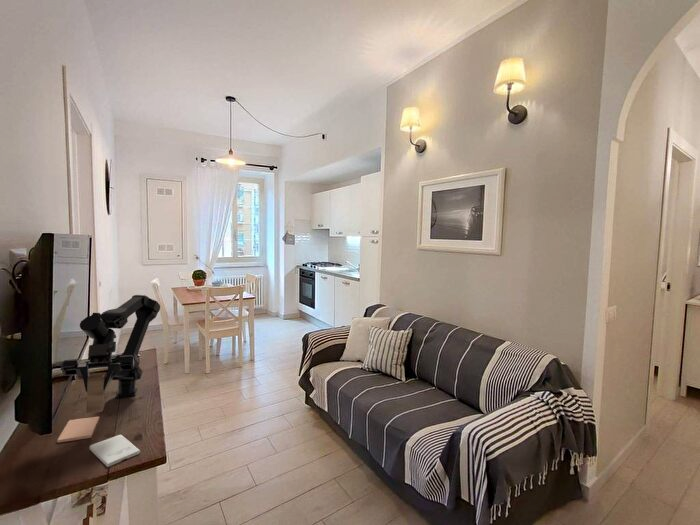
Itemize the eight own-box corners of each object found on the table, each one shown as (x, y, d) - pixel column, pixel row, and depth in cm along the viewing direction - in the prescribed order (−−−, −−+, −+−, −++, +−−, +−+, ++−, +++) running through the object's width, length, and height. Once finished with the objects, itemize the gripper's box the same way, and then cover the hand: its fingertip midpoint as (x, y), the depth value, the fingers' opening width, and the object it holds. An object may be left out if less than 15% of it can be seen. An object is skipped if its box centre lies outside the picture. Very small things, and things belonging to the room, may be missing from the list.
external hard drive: (121, 439, 105) (140, 455, 98) (89, 451, 98) (107, 469, 91) (121, 433, 105) (140, 449, 98) (89, 445, 98) (107, 463, 91)
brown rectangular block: (89, 407, 107) (90, 373, 107) (104, 405, 109) (105, 372, 109) (86, 413, 104) (87, 378, 103) (102, 411, 106) (103, 376, 105)
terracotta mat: (69, 422, 110) (69, 420, 110) (99, 418, 114) (99, 416, 114) (57, 442, 100) (57, 440, 100) (90, 437, 103) (90, 435, 103)
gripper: (63, 334, 104) (51, 383, 95) (134, 331, 113) (130, 376, 104) (69, 351, 112) (58, 399, 103) (135, 347, 121) (131, 390, 111)
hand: (95, 390), depth 105 cm, fingers closed on brown rectangular block, 4 cm apart
